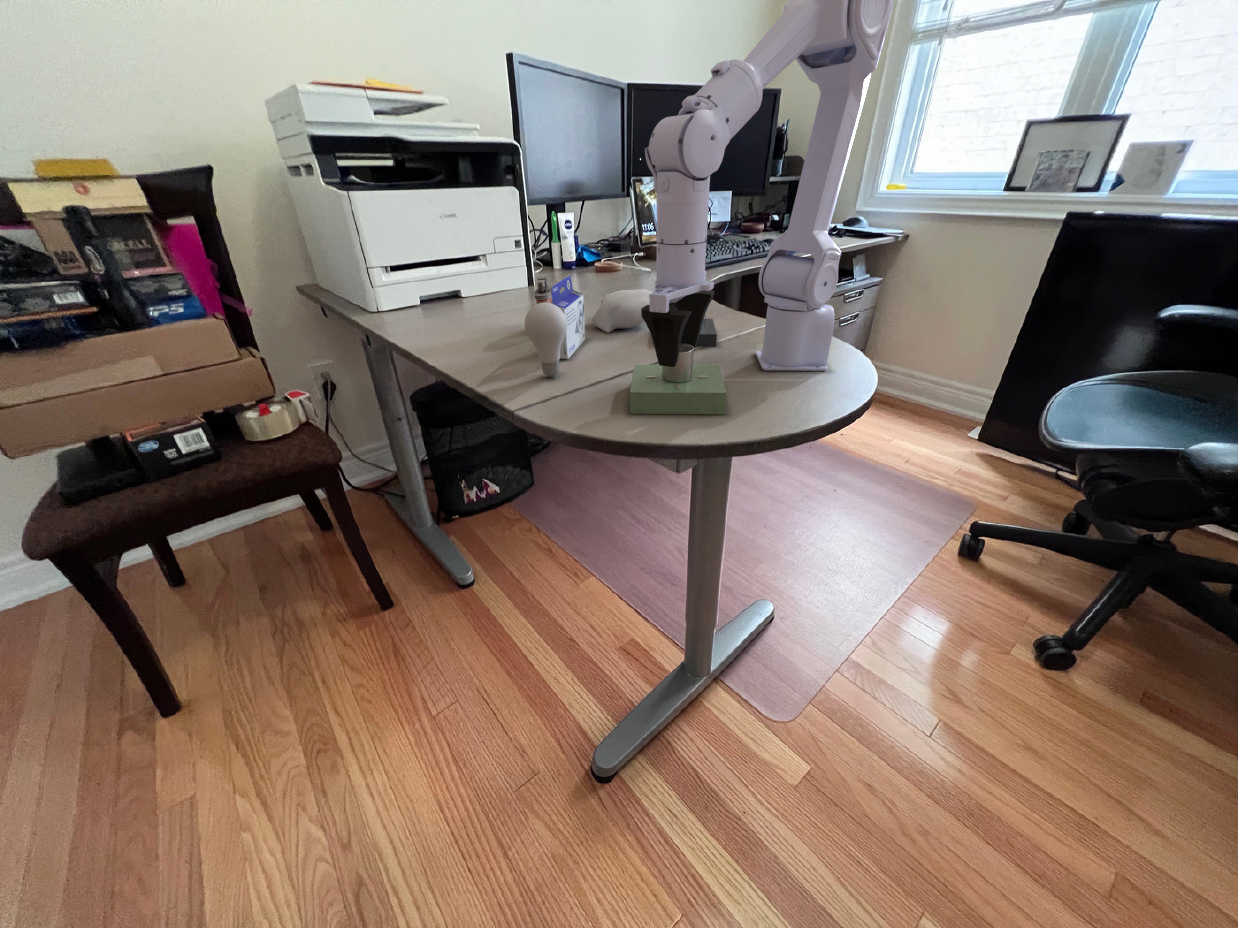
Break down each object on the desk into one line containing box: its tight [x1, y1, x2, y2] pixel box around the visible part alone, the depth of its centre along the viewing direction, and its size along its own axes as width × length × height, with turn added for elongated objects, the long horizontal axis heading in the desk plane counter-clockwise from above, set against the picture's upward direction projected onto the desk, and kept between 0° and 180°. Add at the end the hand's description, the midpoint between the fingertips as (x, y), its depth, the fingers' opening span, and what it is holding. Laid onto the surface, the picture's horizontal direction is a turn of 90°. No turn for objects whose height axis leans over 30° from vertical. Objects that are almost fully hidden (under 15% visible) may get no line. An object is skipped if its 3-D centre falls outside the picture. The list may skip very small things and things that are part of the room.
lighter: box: [533, 274, 552, 304], centre depth 94 cm, size 8×3×10 cm, turn 179°
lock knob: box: [662, 343, 695, 383], centre depth 64 cm, size 4×4×4 cm
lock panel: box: [629, 364, 728, 416], centre depth 66 cm, size 12×10×3 cm
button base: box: [696, 315, 718, 347], centre depth 88 cm, size 10×10×4 cm
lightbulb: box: [524, 303, 567, 378], centre depth 72 cm, size 6×6×11 cm
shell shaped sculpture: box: [591, 288, 653, 333], centre depth 96 cm, size 13×13×6 cm
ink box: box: [551, 274, 586, 360], centre depth 83 cm, size 12×2×12 cm, turn 168°
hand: (678, 355), depth 64 cm, fingers open, 7 cm apart
